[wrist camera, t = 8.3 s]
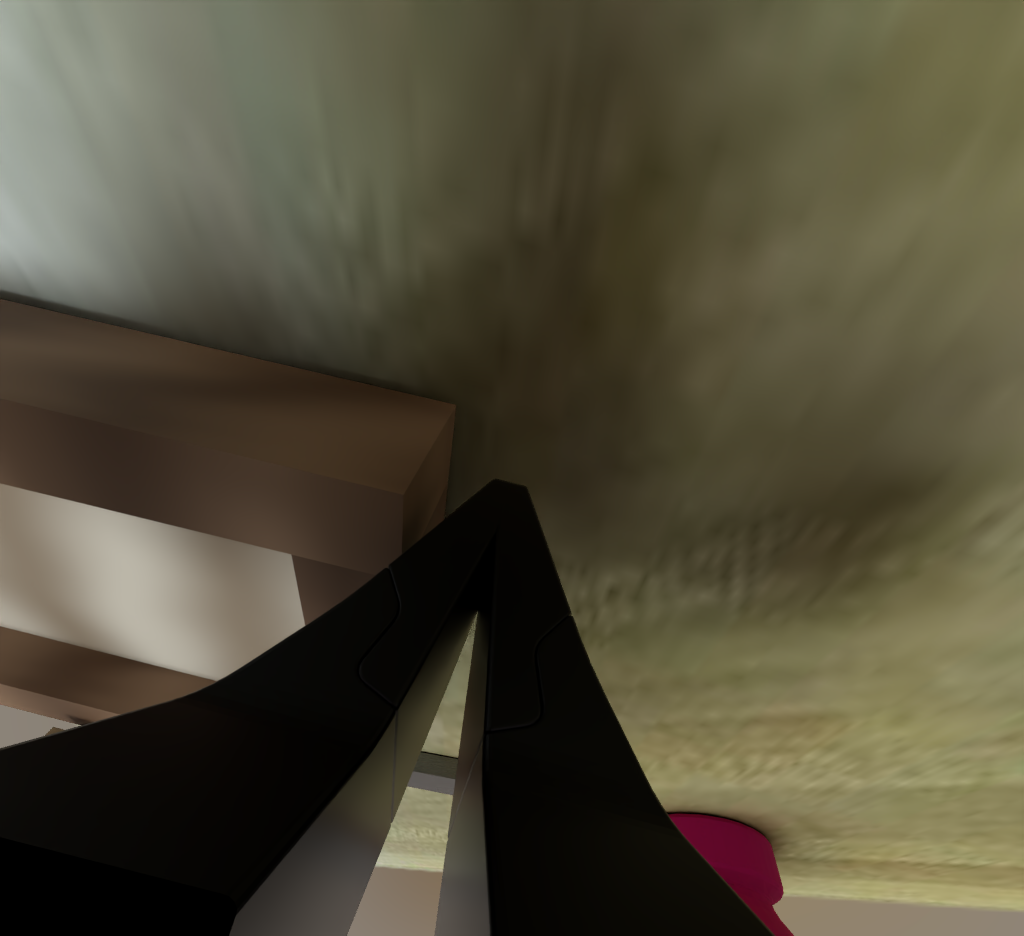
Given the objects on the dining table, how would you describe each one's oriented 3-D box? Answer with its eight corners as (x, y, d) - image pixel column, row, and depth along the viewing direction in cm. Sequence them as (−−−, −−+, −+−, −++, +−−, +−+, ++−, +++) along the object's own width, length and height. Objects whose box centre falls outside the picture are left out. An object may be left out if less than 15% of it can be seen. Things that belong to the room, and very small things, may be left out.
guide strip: (475, 762, 20) (471, 782, 19) (477, 779, 21) (473, 799, 20) (100, 692, 22) (84, 708, 21) (119, 711, 23) (106, 726, 22)
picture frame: (456, 405, 9) (381, 532, 6) (419, 741, 18) (385, 856, 15) (-521, 177, 9) (-1080, 178, 6) (-56, 621, 19) (-183, 708, 16)
